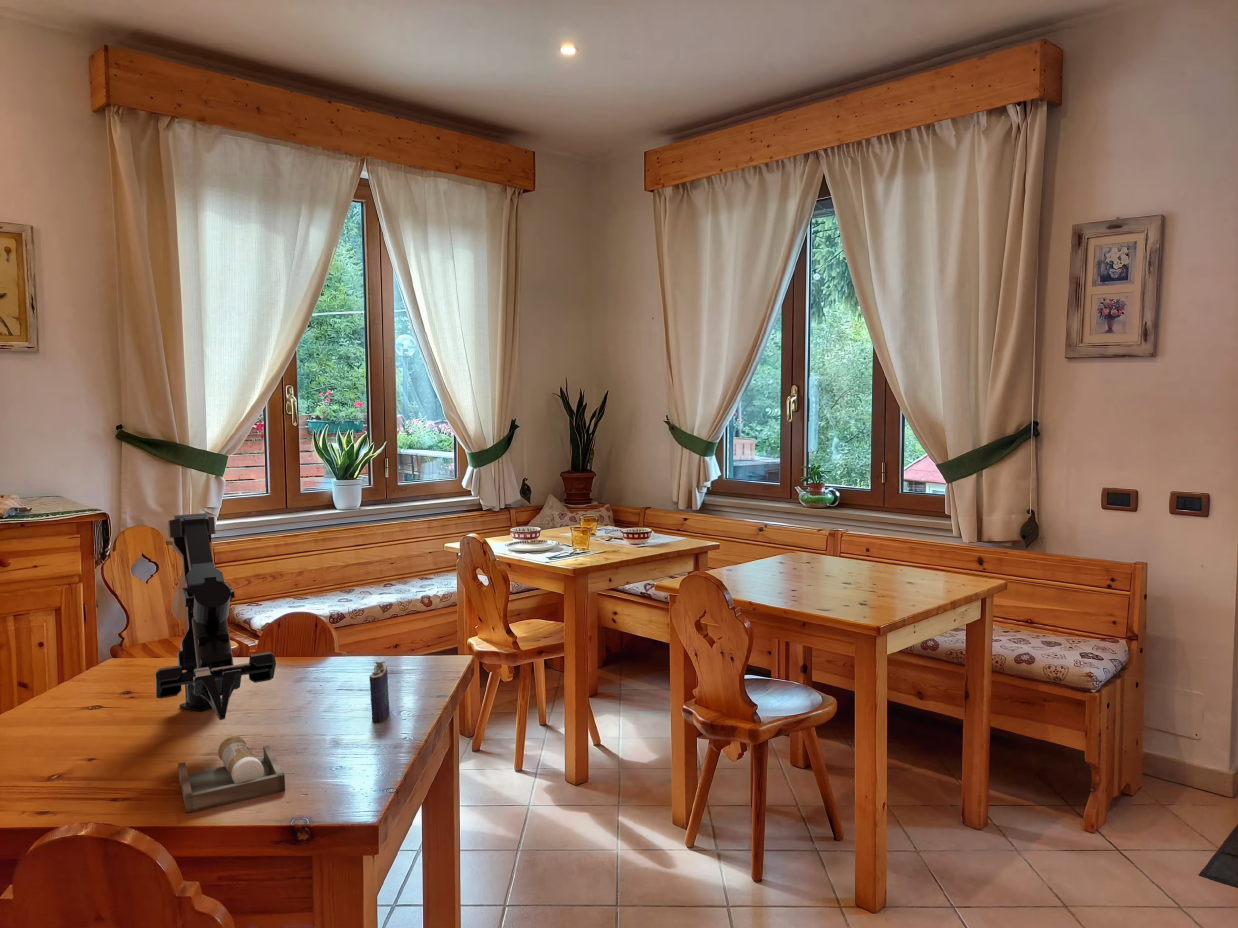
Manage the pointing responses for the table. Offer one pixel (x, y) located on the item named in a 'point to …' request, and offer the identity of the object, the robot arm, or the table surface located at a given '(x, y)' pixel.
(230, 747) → the sprinkles bottle
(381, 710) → the flask
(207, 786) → the tray
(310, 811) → the table surface
